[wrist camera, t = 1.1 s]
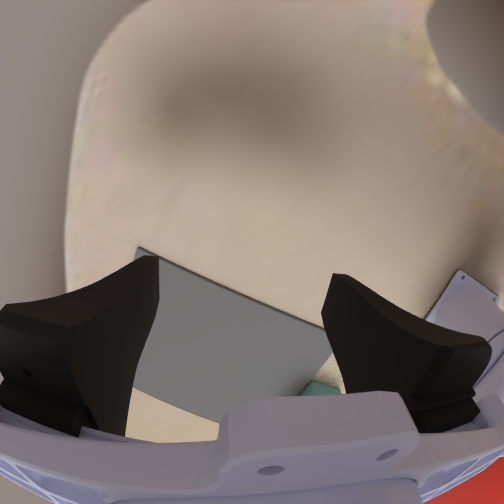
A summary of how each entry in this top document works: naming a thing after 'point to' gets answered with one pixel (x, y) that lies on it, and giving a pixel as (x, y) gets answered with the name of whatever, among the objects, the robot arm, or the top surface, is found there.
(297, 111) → the top surface
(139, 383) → the charcoal mat
